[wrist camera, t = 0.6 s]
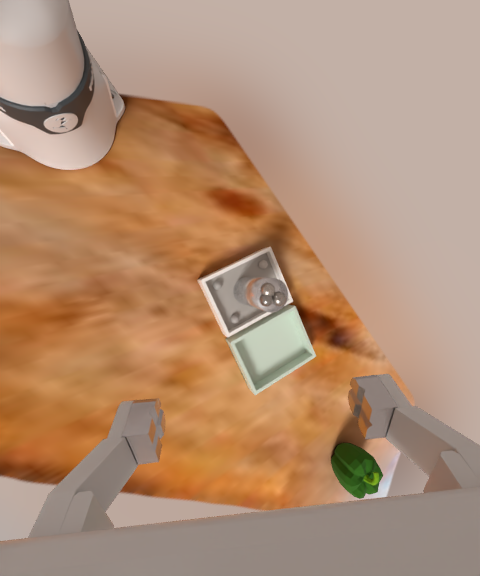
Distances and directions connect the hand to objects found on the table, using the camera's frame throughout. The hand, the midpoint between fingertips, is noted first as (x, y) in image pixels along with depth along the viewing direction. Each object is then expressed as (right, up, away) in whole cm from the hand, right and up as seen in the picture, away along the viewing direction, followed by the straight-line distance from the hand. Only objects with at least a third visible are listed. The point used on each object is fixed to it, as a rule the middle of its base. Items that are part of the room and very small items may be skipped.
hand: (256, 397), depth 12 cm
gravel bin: (0, +4, +40) cm, 41 cm away
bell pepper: (+21, -32, +50) cm, 63 cm away
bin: (+5, -7, +43) cm, 43 cm away
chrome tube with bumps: (+1, +4, +39) cm, 39 cm away
